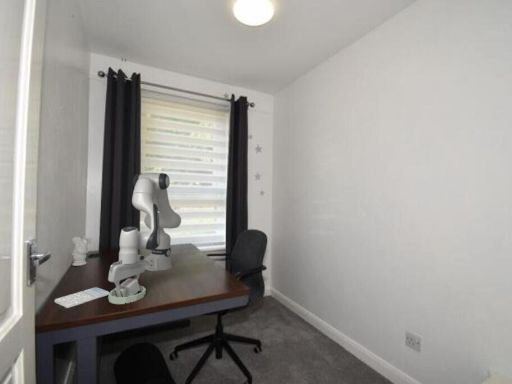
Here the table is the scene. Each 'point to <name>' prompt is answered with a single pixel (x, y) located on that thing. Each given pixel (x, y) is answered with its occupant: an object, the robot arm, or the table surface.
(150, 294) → the table surface
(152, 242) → the robot arm
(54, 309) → the table surface
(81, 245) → the cherub figurine
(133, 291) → the security camera
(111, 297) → the faceted green bowl
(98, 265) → the table surface
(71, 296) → the calculator
